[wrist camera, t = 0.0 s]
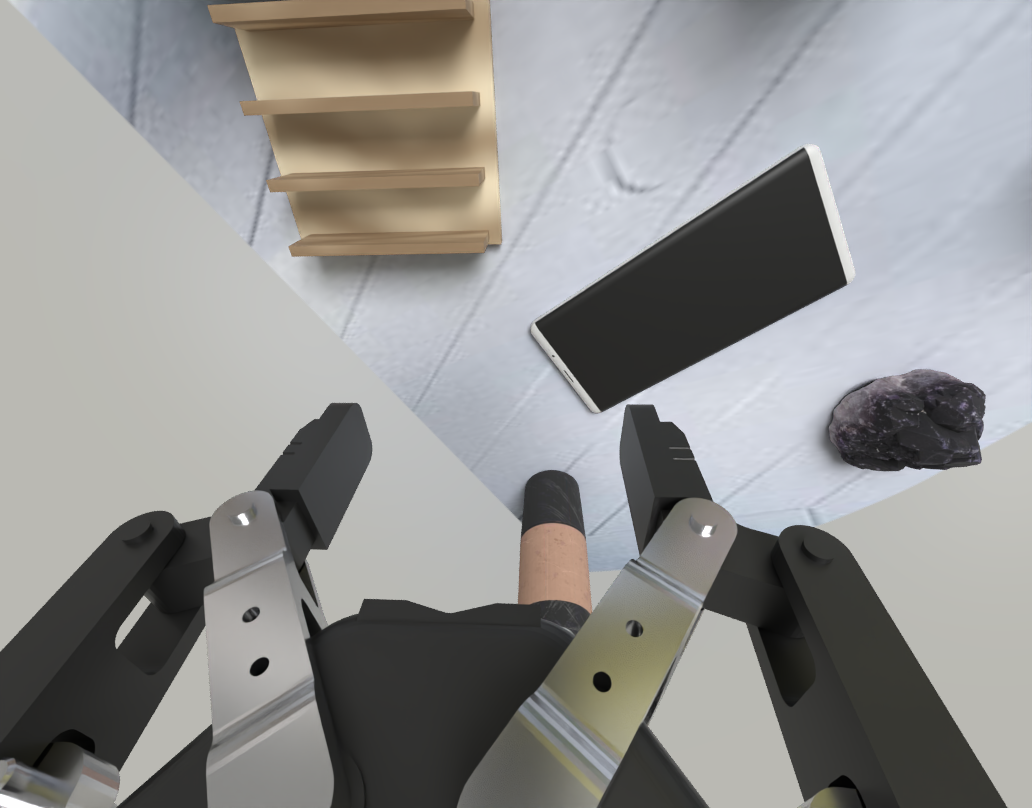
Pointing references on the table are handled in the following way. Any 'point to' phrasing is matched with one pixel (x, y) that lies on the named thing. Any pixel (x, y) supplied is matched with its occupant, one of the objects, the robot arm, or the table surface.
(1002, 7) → the table surface
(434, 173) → the dish rack
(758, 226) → the smartphone
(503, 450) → the table surface
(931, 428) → the crystal cluster
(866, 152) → the table surface
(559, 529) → the travel mug
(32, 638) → the robot arm
